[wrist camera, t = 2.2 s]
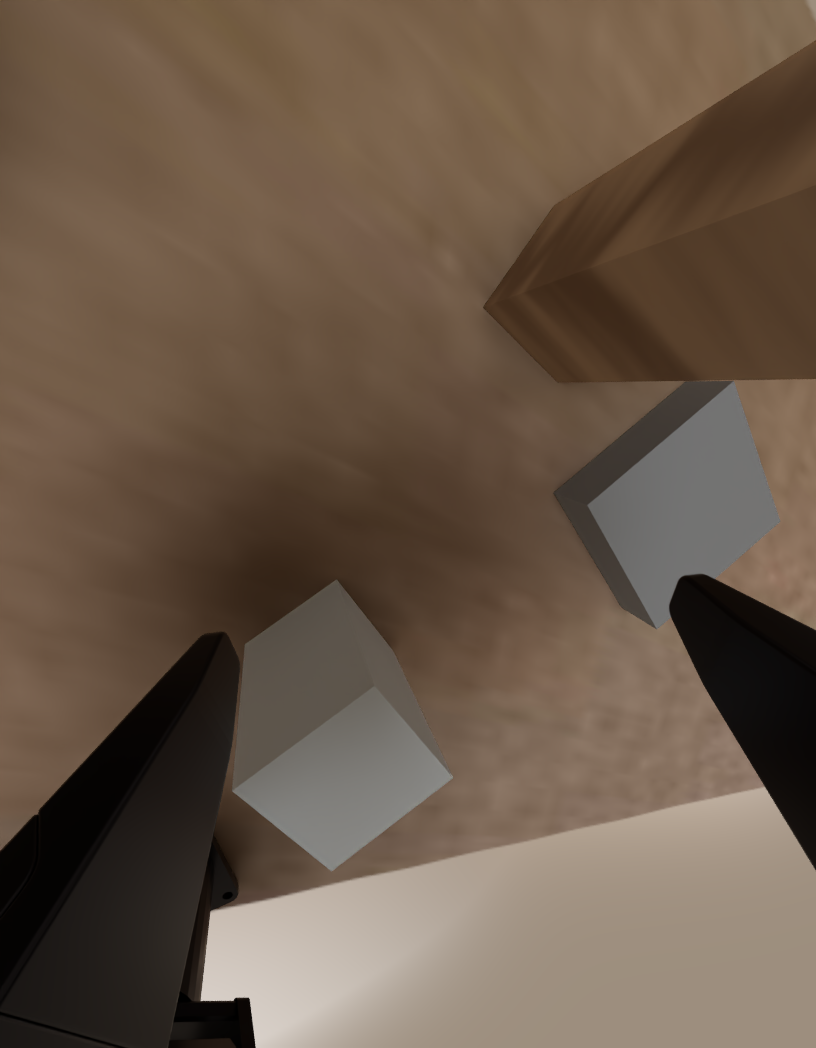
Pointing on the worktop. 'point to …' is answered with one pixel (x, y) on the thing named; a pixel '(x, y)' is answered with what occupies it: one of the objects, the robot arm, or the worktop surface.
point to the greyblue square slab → (672, 498)
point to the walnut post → (684, 251)
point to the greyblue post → (331, 730)
